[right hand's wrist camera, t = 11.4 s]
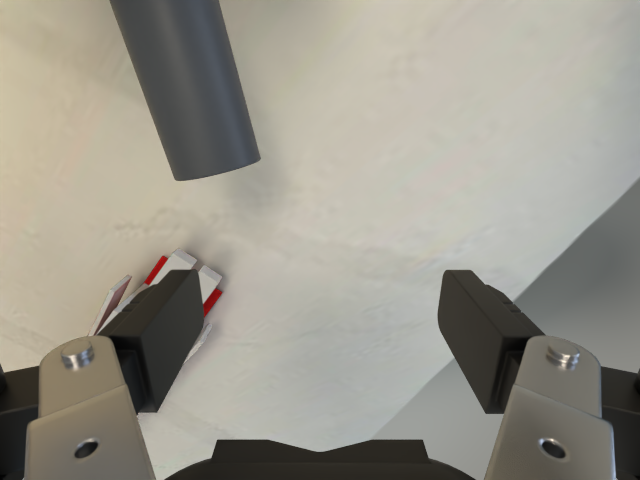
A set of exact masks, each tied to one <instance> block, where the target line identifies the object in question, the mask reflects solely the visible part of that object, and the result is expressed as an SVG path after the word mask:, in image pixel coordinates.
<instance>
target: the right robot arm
mask: <svg viewBox="0 0 640 480" xmlns="http://www.w3.org/2000/svg"><path fill="white" fill-rule="evenodd" d="M203 323H204V308H203V301H202V294H201V286H200V279H199V274H198V272H197V270H195V269H172V270H170V271H169V272H168V273H167V274H166V275H165V276H164V277H163V278H162V279H161V281H160V282H159V283H158V284H153V285H152V286H150V287H148V288H146V289H144V290H143V291H141V292H139V293H138V294H137V295H136V296H135V297H134V298H133V299H132V300H131V301H130V304H127V305H126V306H125V307H124V308H123V309H122V312H119V313H118V314H117V315H116V316H115V317H114V318H113V319H112V320H111V321H110V322H109V323H108V324H107V325H106V326H105V327H104V328H103V329H102V330H101V331H100V332H99V333H98V334H97V335H96V336H86V337H81V338H78V339H74V340H72V341H69V342H67V343H64V344H62V345H60V346H58V347H57V348H55V349H53V350H52V351H51V352H49V353H48V354H47V355H46V356H45V357H44V358H43V359H42V361H41V363H40V365H39V366H35V367H30V368H25V369H20V370H15V371H10V372H5V373H4V372H3V369H2V367H1V364H0V480H22V479H23V478H24V480H156V478H155V474H154V471H153V468H152V465H151V461H150V458H149V455H148V452H147V448H146V445H145V442H144V439H143V435H142V432H141V429H140V426H139V422H138V419H137V414H138V413H139V412H158V410H159V408H160V406H161V404H162V402H163V400H164V399H165V397H166V395H167V393H168V391H169V389H170V388H171V386H172V384H173V382H174V380H175V378H176V376H177V375H178V373H179V371H180V369H181V367H182V365H183V364H184V362H185V360H186V358H187V356H188V354H189V353H190V351H191V349H192V347H193V345H194V343H195V341H196V340H197V338H198V336H199V334H200V332H201V330H202V327H203ZM438 325H439V329H440V331H441V333H442V335H443V337H444V339H445V341H446V342H447V344H448V346H449V348H450V350H451V351H452V353H453V355H454V357H455V359H456V361H457V362H458V364H459V366H460V368H461V370H462V371H463V373H464V375H465V377H466V379H467V381H468V382H469V384H470V386H471V388H472V390H473V391H474V393H475V395H476V397H477V399H478V401H479V402H480V404H481V406H482V408H483V410H484V412H485V413H486V414H504V416H503V419H502V422H501V426H500V429H499V432H498V435H497V439H496V442H495V445H494V448H493V452H492V455H491V458H490V461H489V465H488V468H487V471H486V474H485V478H484V480H616V478H617V479H618V480H640V369H639V372H638V374H637V373H632V372H627V371H622V370H617V369H612V368H607V367H602V366H601V365H600V363H599V361H598V359H597V358H596V357H595V356H594V355H593V354H592V353H591V352H589V351H588V350H586V349H585V348H583V347H582V346H580V345H578V344H576V343H573V342H571V341H568V340H566V339H562V338H559V337H554V336H546V335H545V334H544V333H543V332H542V331H541V330H540V329H539V328H538V327H537V326H536V325H535V324H534V323H533V322H532V321H531V320H530V319H529V318H528V317H527V316H526V315H525V314H524V313H521V310H520V309H519V308H518V307H517V306H516V305H515V304H513V302H512V301H511V300H510V299H509V298H508V297H507V296H506V295H505V294H504V293H502V292H500V291H499V290H497V289H495V288H493V287H491V286H490V285H485V284H484V283H483V282H482V281H481V280H480V279H479V278H478V277H477V276H476V275H475V274H474V273H473V271H471V270H446V271H445V272H444V274H443V279H442V286H441V293H440V300H439V307H438ZM165 480H475V479H474V478H472V477H471V476H469V475H467V474H466V473H464V472H462V471H460V470H458V469H456V468H454V467H452V466H450V465H448V464H445V463H442V462H439V461H437V460H433V459H429V458H428V455H427V452H426V449H425V445H424V442H423V440H369V441H365V442H361V443H357V444H353V445H349V446H345V447H341V448H337V449H333V450H329V451H325V452H315V451H311V450H307V449H303V448H299V447H295V446H291V445H287V444H283V443H279V442H275V441H271V440H217V442H216V445H215V449H214V452H213V455H212V458H211V459H207V460H203V461H201V462H198V463H195V464H192V465H190V466H188V467H186V468H184V469H182V470H180V471H178V472H176V473H174V474H173V475H171V476H169V477H168V478H166V479H165Z"/></svg>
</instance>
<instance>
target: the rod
mask: <svg viewBox="0 0 640 480" xmlns="http://www.w3.org/2000/svg"><path fill="white" fill-rule="evenodd" d="M110 3H111V6H112V9H113V11H114V14H115V17H116V20H117V22H118V25H119V28H120V31H121V33H122V36H123V39H124V41H125V44H126V47H127V50H128V52H129V55H130V58H131V61H132V63H133V66H134V69H135V72H136V74H137V77H138V80H139V83H140V85H141V88H142V91H143V93H144V96H145V99H146V102H147V104H148V107H149V110H150V113H151V115H152V118H153V121H154V124H155V126H156V129H157V132H158V135H159V137H160V140H161V143H162V146H163V148H164V151H165V154H166V156H167V159H168V162H169V165H170V167H171V170H172V173H173V176H174V178H175V180H177V181H186V180H193V179H199V178H204V177H208V176H213V175H217V174H221V173H225V172H229V171H232V170H236V169H239V168H242V167H245V166H248V165H251V164H253V163H256V162H257V161H259V160H260V159H261V158H260V154H259V150H258V146H257V143H256V139H255V135H254V131H253V128H252V124H251V120H250V116H249V113H248V109H247V105H246V101H245V98H244V94H243V90H242V86H241V83H240V79H239V75H238V71H237V68H236V64H235V60H234V56H233V53H232V49H231V45H230V41H229V38H228V34H227V30H226V26H225V23H224V19H223V15H222V11H221V8H220V4H219V0H110Z"/></svg>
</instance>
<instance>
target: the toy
mask: <svg viewBox="0 0 640 480" xmlns="http://www.w3.org/2000/svg"><path fill="white" fill-rule="evenodd" d="M196 262H197V260H196V259H195V258H193V257H192V256H190V255H189V254H187V253H186V252H184V251H183V250H181V249H180V248H178V249H177V250H175V251H174V252H173V253H172V254H171V256H170V257H169V259H168V258H166V257H164V256H162V257H161V259H160V260H159V261H158V263H157V264H156V266H155V267H154V269H153V270H152V272H151V273H150V275H149V276H148V277H147V279H146V280H145V282H144V283H143V285H142V286H141V287H139V288H138V289H137V290H136V291H135V292H134V293H133V294H131V295H130V296H129V297H128V298H127V299H126V300H125V301H123V302H122V303H121V304H120V305H119V306H118V307H117V305H118V303H119V301H120V299H121V297H122V295H123V293H124V291H125V289H126V287H127V285H128V283H129V282H130V280H131V278H132V276H130V275H127V276H126V277H124V278H123V279H122V280H121V281H120V282H119V283H118V284H116V285H115V286H114V287H113V288H112V289H111V290H110V291H109V293H108V295H107V297H106V299H105V301H104V303H103V305H102V308H101V310H100V312H99V314H98V316H97V318H96V320H95V322H94V324H93V326H92V328H91V330H90V332H89V334H88V336H96V335H97V334H98V333H99V332H100V331H101V330H102V329H103V328H104V327H105V326H106V325H107V324H108V323H109V322H110V321H111V320H112V319H113V318H114V317H115V316H116V315H117V314H118V313H119V312H122V309H123V308H124V307H125V306H126V305H127V304H130V301H131V300H132V299H133V298H134V297H135V296H136V295H137V294H138V293H139V292H141V291H143V290H144V289H146V288H148V287H150V286H152V285H153V284H158V283H159V282H160V281H161V279H162V278H163V277H164V276H165V275H166V274H167V273H168V272H169V271H170V270H172V269H192V267H193V266H194V264H195V263H196ZM198 274H199V279H200V286H201V294H202V301H203V308H204V317H205V316H206V315H207V313H208V312H209V311H210V309H211V308H212V306H213V305H214V304H215V302H216V301H217V299H218V298H219V297H220V295H221V294H222V292H221V291H219V290H218V289H216V286H217V285H218V284H219V282H220V280H221V278H222V276H220V275H219V274H217V273H216V272H214V271H213V270H211V269H210V268H208V267H207V266H205V265H204V266H203V267H202V268H201V269H200V271H199V272H198ZM116 307H117V308H116ZM211 327H212V325H211V324H210V323H209V324H208V325H207V326H206V327H205V328H204V329H203V330H202V331H201V333H200V334H199V336H198V338H197V340H196V341H195V343H194V345H193V347H192V349H191V351H190V353H189V354H188V356H187V358H186V360H185V362H186V361H187V360H188V359H189V358H190V357H191V356H192V355H193V354H194V353H195V352H196V351H197V349H198V348H199V347H200V346H201V345H202V344H203V343H204V341H205V339H206V337H207V335H208V333H209V331H210V329H211ZM185 362H184V364H185ZM184 364H183V365H184ZM183 365H182V366H183Z"/></svg>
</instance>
